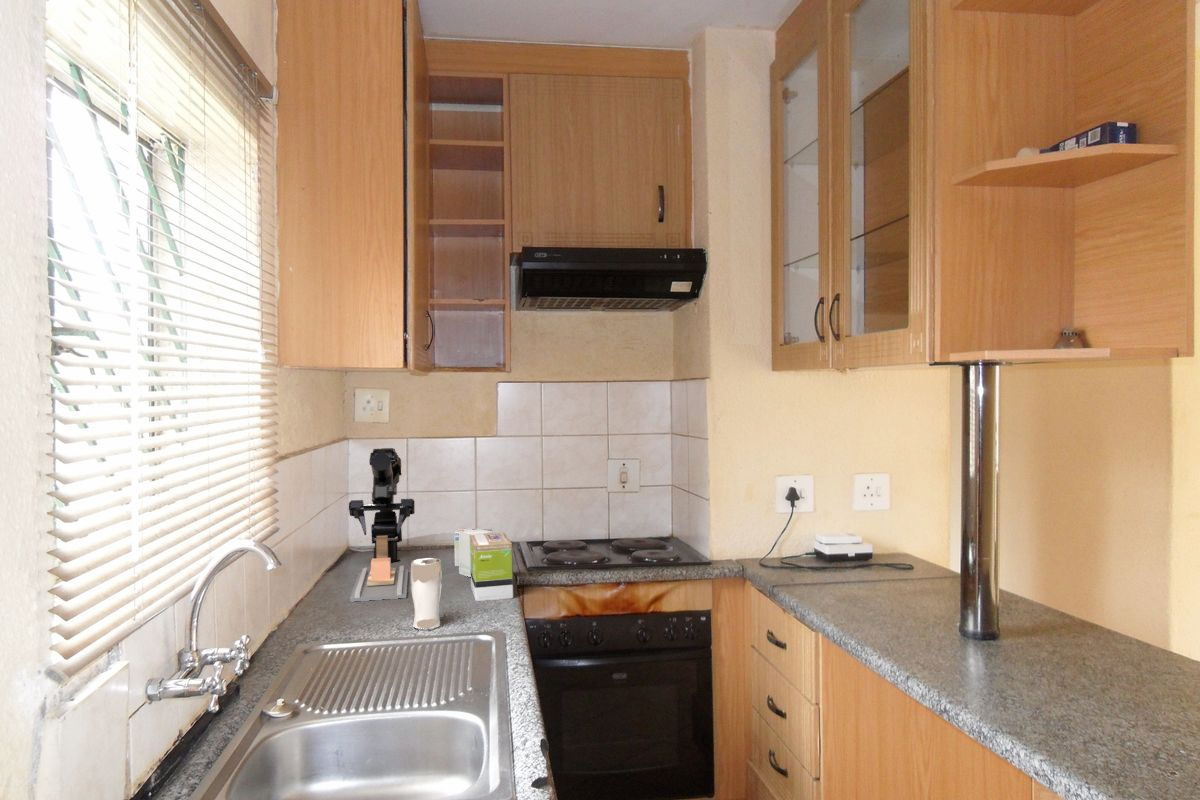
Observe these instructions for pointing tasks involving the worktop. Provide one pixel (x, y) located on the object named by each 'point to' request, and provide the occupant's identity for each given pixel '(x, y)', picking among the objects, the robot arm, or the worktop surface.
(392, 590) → the guide board
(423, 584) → the beer glass
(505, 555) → the tea box
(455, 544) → the light bulb box
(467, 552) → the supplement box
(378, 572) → the terracotta cube
